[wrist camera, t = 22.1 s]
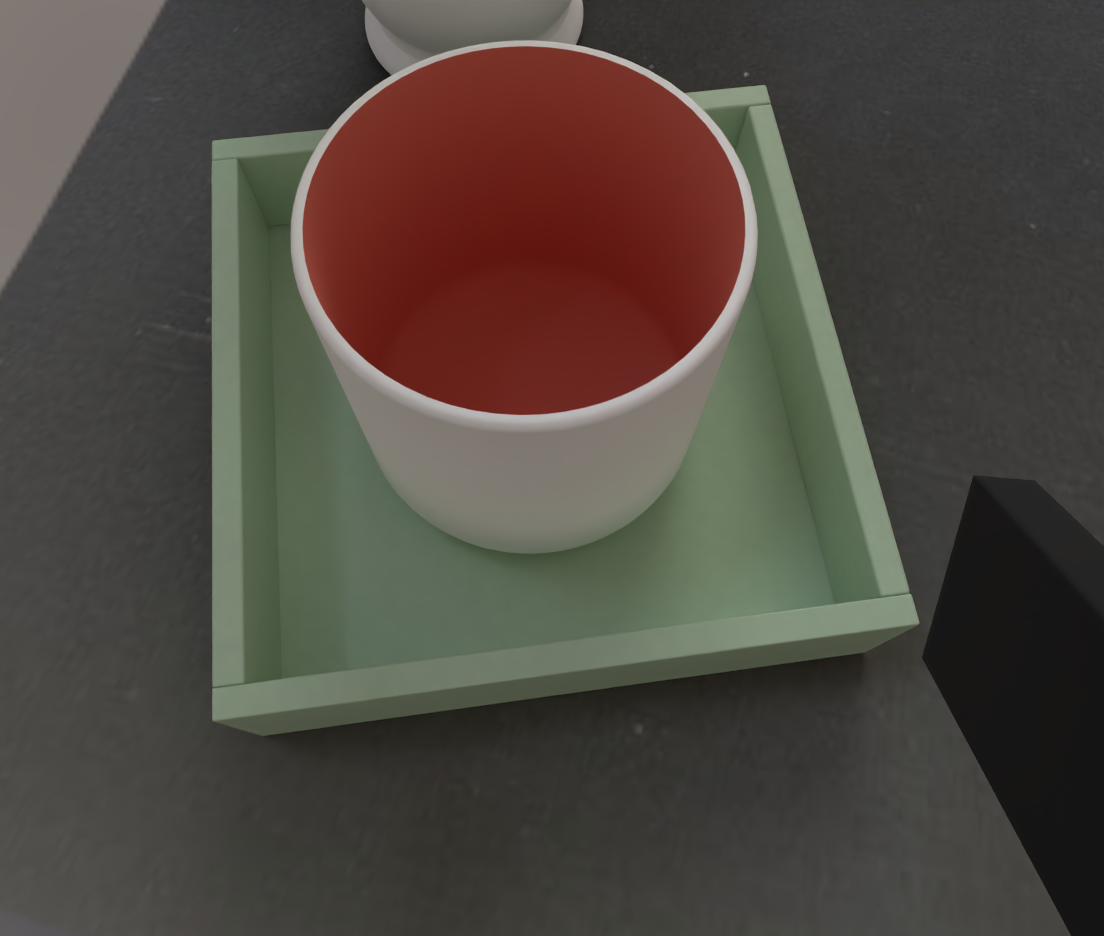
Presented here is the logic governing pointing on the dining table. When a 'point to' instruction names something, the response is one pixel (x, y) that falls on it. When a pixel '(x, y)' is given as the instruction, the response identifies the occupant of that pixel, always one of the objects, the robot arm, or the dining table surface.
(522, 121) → the cup
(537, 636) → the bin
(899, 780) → the dining table surface
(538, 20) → the jar
